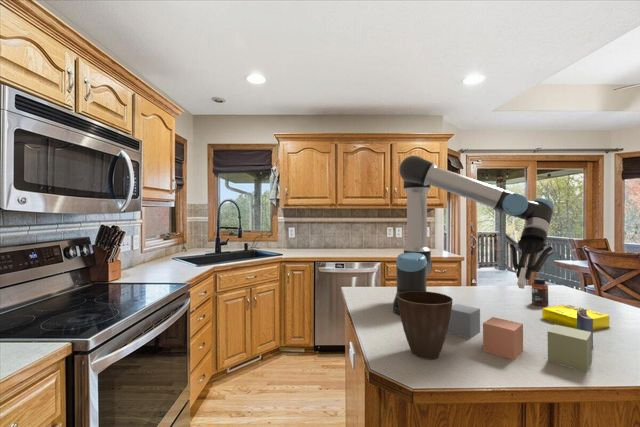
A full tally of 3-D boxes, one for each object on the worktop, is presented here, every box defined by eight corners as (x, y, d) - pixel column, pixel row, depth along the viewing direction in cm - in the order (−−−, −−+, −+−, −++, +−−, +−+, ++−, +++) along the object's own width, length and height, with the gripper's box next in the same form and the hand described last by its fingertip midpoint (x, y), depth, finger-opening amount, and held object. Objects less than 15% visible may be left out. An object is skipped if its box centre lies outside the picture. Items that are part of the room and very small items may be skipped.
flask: (594, 350, 88) (594, 313, 89) (581, 348, 90) (581, 311, 90) (585, 339, 96) (585, 305, 97) (573, 337, 98) (573, 303, 98)
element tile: (539, 319, 116) (539, 306, 116) (565, 314, 121) (565, 302, 122) (584, 333, 102) (584, 318, 102) (612, 327, 107) (612, 314, 107)
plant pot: (386, 351, 88) (386, 295, 88) (417, 338, 97) (417, 288, 97) (433, 371, 76) (433, 307, 76) (463, 355, 85) (463, 298, 85)
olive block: (587, 372, 76) (586, 340, 76) (547, 361, 82) (547, 331, 82) (591, 362, 81) (591, 332, 81) (554, 352, 87) (554, 324, 87)
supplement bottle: (547, 303, 135) (547, 278, 135) (549, 307, 130) (548, 280, 130) (531, 301, 138) (531, 277, 138) (532, 305, 133) (531, 279, 133)
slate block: (470, 339, 97) (470, 313, 97) (445, 332, 103) (445, 308, 103) (480, 332, 102) (479, 308, 102) (456, 326, 108) (456, 303, 108)
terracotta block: (514, 360, 82) (514, 330, 82) (483, 350, 88) (482, 323, 88) (523, 351, 88) (523, 323, 88) (492, 343, 94) (492, 316, 94)
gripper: (558, 241, 108) (546, 296, 97) (516, 238, 118) (501, 288, 107) (555, 226, 105) (542, 282, 94) (512, 225, 114) (496, 276, 103)
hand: (520, 286), depth 100 cm, fingers closed
